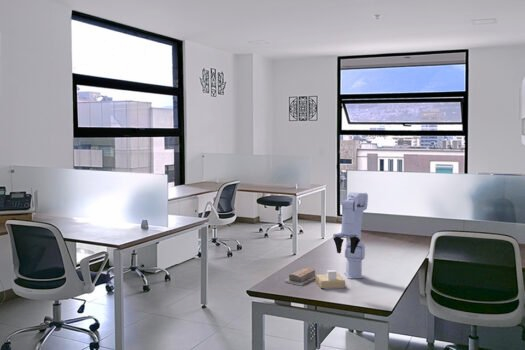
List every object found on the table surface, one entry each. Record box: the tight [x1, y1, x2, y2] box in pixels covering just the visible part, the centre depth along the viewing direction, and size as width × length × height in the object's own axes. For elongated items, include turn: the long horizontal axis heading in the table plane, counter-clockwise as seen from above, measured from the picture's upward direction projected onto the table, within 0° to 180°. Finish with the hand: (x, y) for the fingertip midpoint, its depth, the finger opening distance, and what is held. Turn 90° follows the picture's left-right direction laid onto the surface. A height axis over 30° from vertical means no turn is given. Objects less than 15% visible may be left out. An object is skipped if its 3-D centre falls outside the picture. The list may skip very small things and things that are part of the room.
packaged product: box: [284, 267, 317, 286], centre depth 258 cm, size 18×5×10 cm
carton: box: [315, 273, 346, 289], centre depth 250 cm, size 12×12×4 cm
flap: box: [319, 269, 346, 283], centre depth 246 cm, size 6×12×5 cm, turn 96°
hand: (345, 253), depth 237 cm, fingers open, 7 cm apart
